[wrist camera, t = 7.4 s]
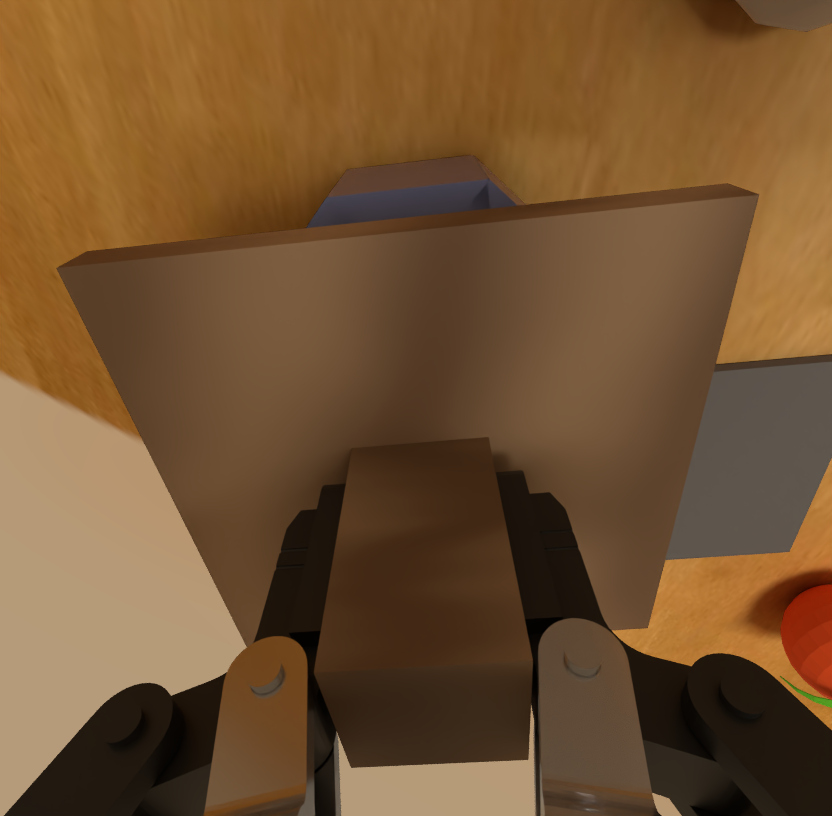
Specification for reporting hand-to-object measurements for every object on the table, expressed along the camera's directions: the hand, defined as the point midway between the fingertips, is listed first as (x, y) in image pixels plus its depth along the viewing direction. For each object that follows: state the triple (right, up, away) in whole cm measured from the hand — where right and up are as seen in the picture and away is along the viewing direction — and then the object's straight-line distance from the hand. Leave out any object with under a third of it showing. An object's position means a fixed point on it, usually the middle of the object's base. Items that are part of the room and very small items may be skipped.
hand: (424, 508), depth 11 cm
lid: (0, +1, +1) cm, 2 cm away
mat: (+14, -1, +16) cm, 21 cm away
